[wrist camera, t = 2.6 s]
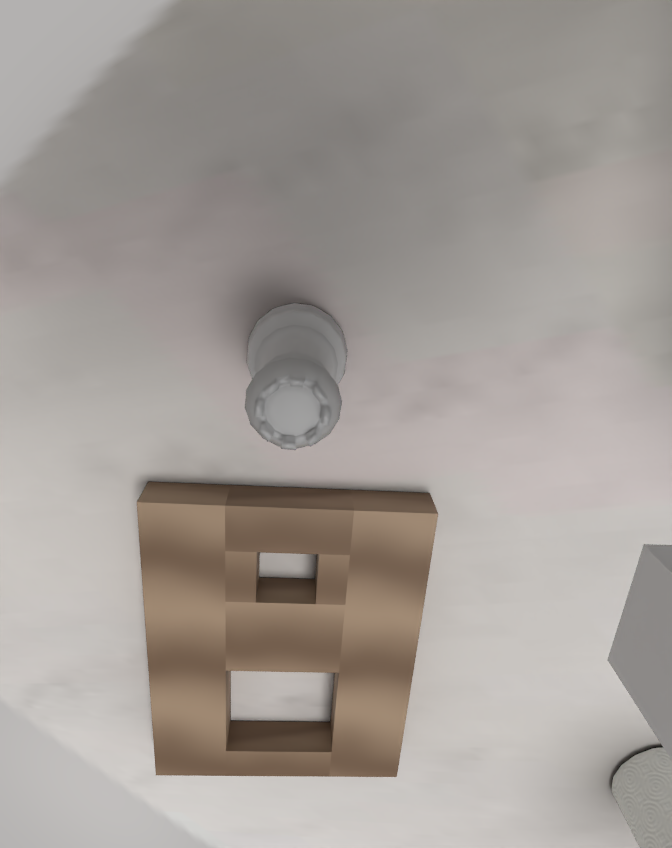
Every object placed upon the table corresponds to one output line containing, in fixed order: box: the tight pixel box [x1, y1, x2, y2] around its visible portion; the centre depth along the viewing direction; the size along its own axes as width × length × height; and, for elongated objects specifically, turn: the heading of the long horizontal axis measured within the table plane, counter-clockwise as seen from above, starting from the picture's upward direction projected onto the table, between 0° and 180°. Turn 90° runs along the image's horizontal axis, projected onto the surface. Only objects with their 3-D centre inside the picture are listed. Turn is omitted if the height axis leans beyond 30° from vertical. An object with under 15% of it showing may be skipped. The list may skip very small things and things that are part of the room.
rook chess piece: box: [245, 303, 347, 450], centre depth 22 cm, size 4×4×8 cm
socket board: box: [137, 482, 438, 777], centre depth 31 cm, size 18×14×2 cm
